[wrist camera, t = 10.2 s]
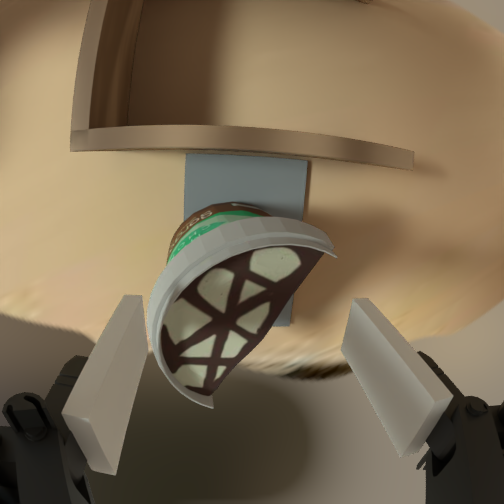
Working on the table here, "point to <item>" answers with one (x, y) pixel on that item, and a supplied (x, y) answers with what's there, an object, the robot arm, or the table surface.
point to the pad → (247, 189)
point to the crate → (178, 136)
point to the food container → (225, 290)
